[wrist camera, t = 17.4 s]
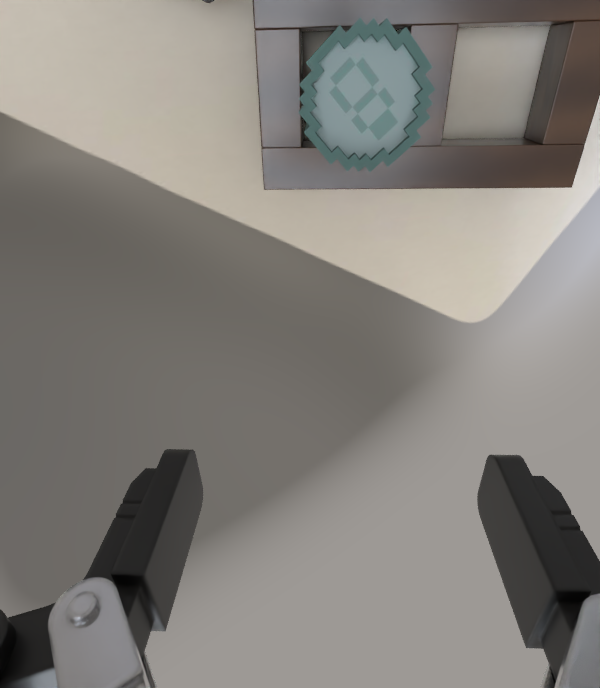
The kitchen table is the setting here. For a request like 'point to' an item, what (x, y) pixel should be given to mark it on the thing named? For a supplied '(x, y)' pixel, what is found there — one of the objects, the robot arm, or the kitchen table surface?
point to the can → (366, 95)
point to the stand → (434, 94)
